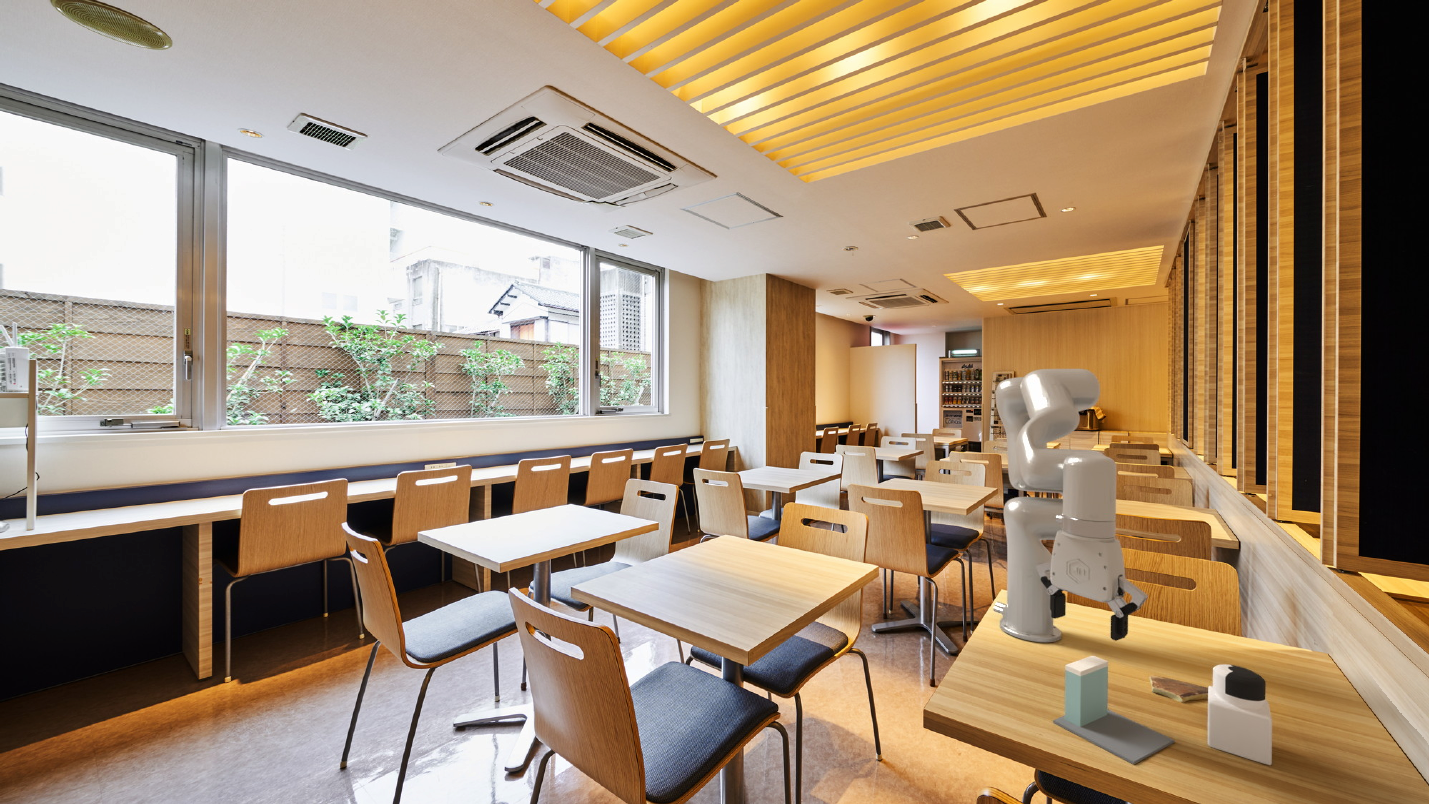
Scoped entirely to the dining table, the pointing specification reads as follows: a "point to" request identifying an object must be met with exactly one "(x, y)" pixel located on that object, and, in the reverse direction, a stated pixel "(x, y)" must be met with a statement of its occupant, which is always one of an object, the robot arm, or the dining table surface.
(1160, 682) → the shard
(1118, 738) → the mat
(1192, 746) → the dining table surface
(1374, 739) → the dining table surface
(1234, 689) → the medicine bottle
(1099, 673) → the slab
